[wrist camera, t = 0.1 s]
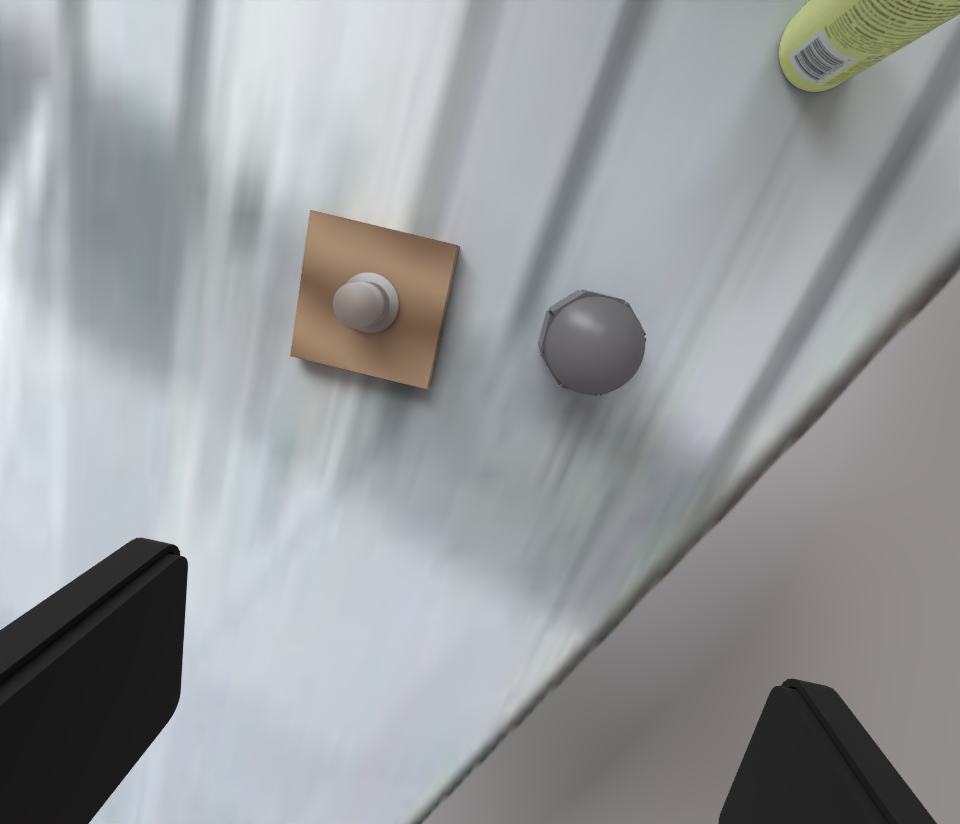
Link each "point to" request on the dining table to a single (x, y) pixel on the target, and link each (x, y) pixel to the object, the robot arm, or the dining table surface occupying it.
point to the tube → (853, 36)
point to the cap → (592, 342)
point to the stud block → (372, 299)
